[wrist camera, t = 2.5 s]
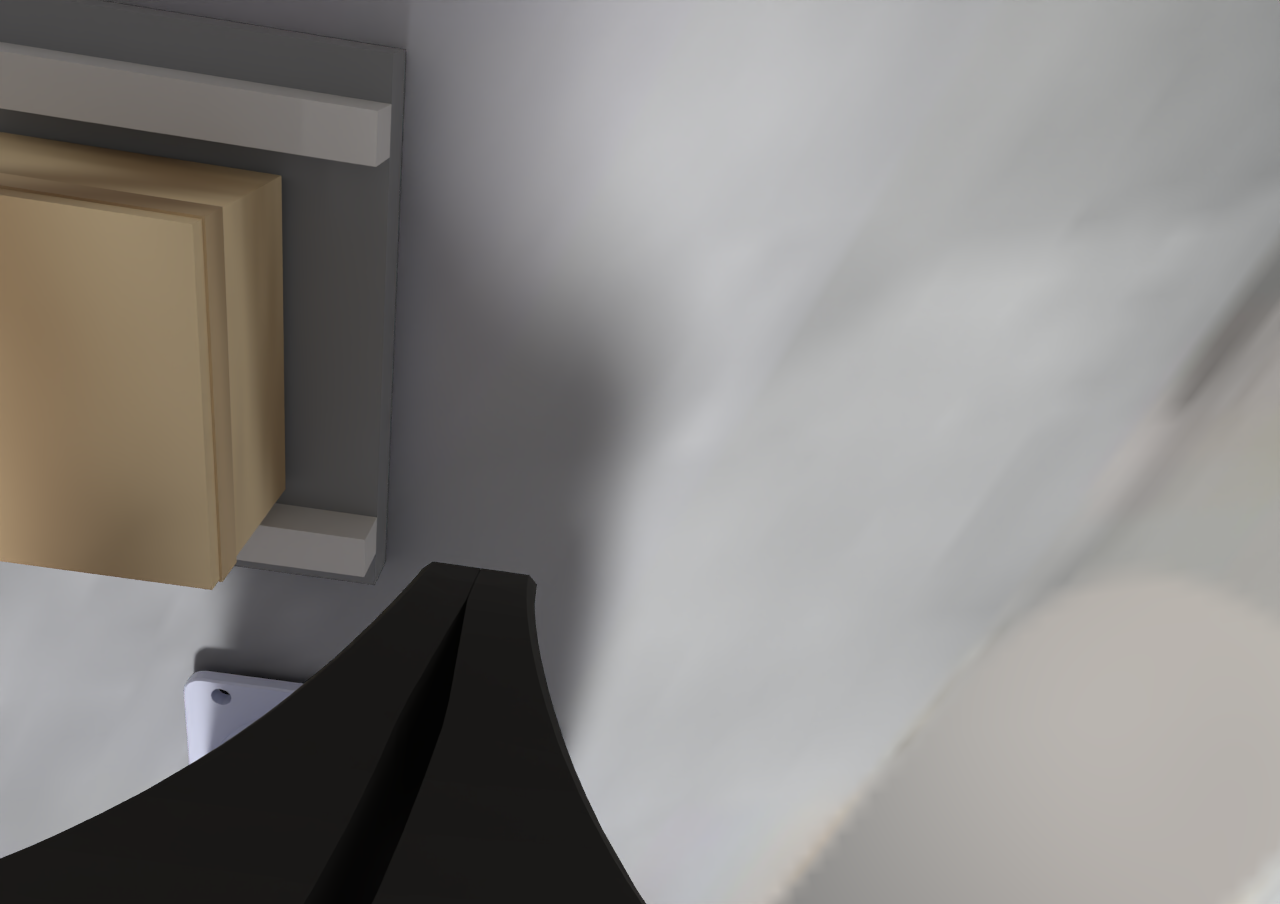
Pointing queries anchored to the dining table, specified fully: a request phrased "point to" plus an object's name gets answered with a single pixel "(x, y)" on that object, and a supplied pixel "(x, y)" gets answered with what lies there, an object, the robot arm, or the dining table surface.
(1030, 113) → the dining table surface
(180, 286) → the crate
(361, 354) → the bay
